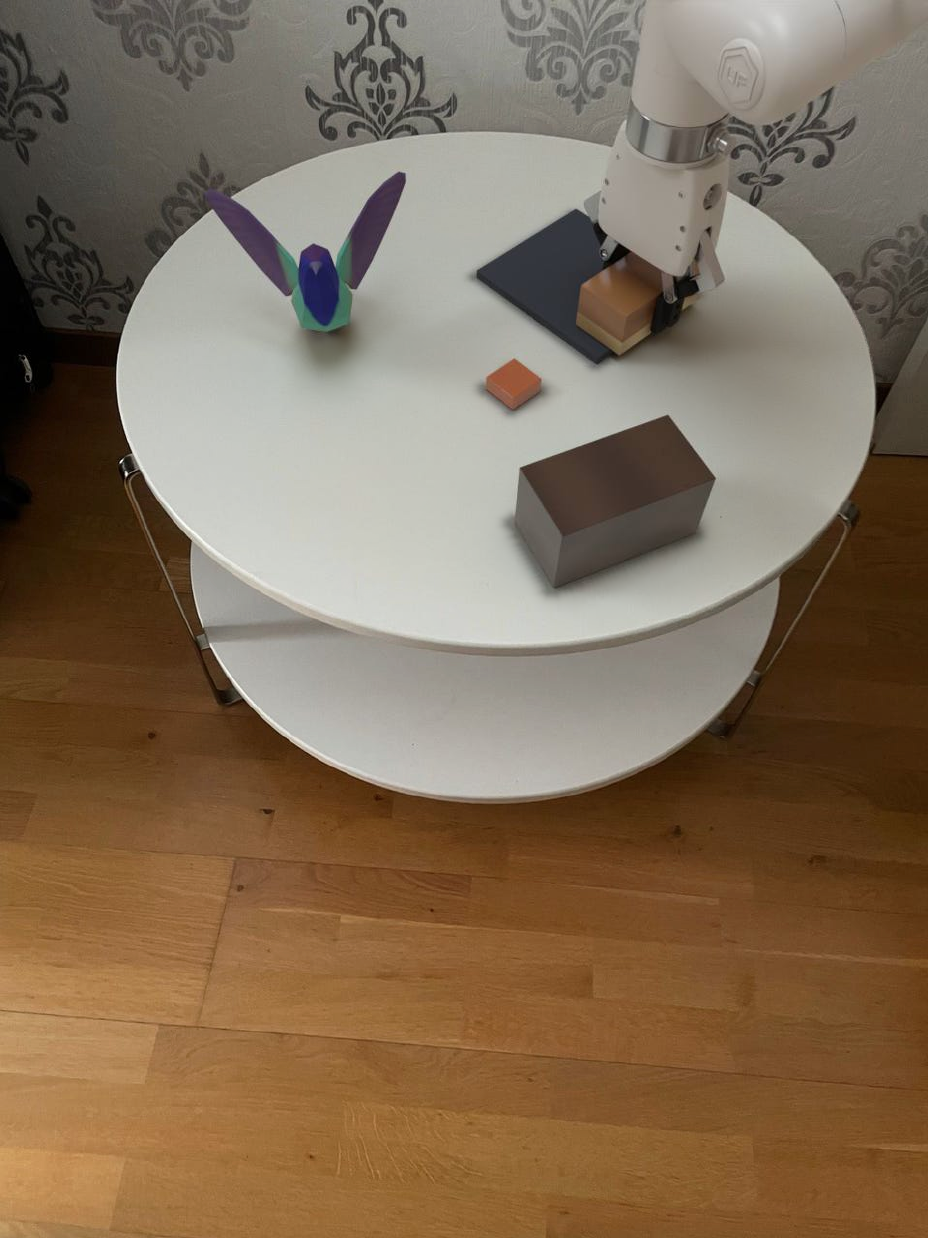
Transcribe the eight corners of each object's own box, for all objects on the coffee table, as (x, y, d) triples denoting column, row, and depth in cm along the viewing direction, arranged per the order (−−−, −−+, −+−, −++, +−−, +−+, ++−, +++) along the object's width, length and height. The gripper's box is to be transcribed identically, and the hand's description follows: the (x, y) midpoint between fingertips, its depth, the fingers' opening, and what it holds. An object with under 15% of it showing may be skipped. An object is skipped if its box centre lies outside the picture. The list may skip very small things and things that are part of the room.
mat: (695, 293, 91) (697, 286, 91) (596, 364, 86) (597, 357, 86) (575, 214, 97) (576, 207, 97) (476, 277, 92) (476, 270, 92)
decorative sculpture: (239, 425, 82) (199, 285, 69) (231, 282, 92) (195, 134, 79) (434, 403, 84) (430, 261, 71) (407, 264, 93) (399, 117, 80)
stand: (652, 471, 80) (668, 413, 74) (696, 533, 77) (716, 477, 71) (514, 522, 77) (519, 467, 71) (553, 588, 74) (562, 536, 68)
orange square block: (540, 390, 85) (542, 378, 83) (512, 410, 83) (513, 398, 82) (513, 369, 86) (514, 357, 85) (485, 389, 85) (486, 376, 83)
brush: (653, 270, 92) (662, 230, 88) (697, 299, 90) (708, 259, 86) (575, 324, 88) (580, 285, 84) (619, 355, 86) (627, 316, 82)
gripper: (796, 152, 71) (735, 337, 86) (625, 58, 77) (597, 246, 93) (733, 195, 68) (682, 378, 84) (561, 94, 75) (543, 281, 90)
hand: (637, 307), depth 88 cm, fingers closed on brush, 5 cm apart
